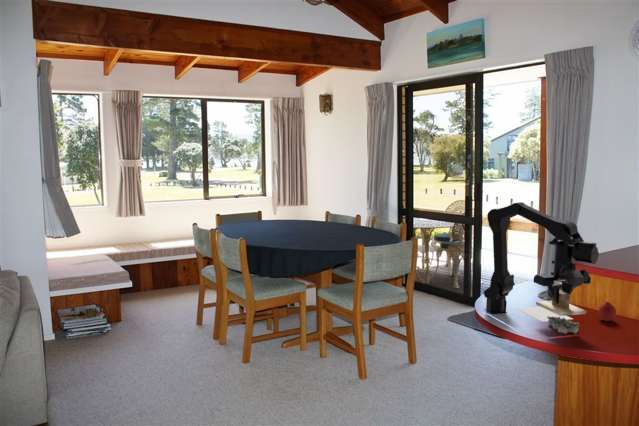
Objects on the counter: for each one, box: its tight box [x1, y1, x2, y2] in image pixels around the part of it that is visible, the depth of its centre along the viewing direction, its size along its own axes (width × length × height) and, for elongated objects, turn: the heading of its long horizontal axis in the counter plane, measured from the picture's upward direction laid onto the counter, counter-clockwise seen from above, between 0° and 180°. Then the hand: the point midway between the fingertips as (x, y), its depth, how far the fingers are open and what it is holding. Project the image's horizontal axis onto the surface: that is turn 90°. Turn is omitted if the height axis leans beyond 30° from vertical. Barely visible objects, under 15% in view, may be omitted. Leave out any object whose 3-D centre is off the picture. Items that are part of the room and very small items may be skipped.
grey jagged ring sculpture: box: [547, 316, 581, 336], centre depth 190 cm, size 11×8×4 cm
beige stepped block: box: [535, 290, 587, 316], centre depth 189 cm, size 10×13×6 cm
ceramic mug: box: [537, 282, 562, 301], centre depth 227 cm, size 11×8×8 cm
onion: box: [597, 299, 617, 322], centre depth 198 cm, size 6×6×8 cm
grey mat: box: [515, 306, 574, 323], centre depth 206 cm, size 13×16×1 cm
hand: (560, 303), depth 189 cm, fingers closed on beige stepped block, 3 cm apart
